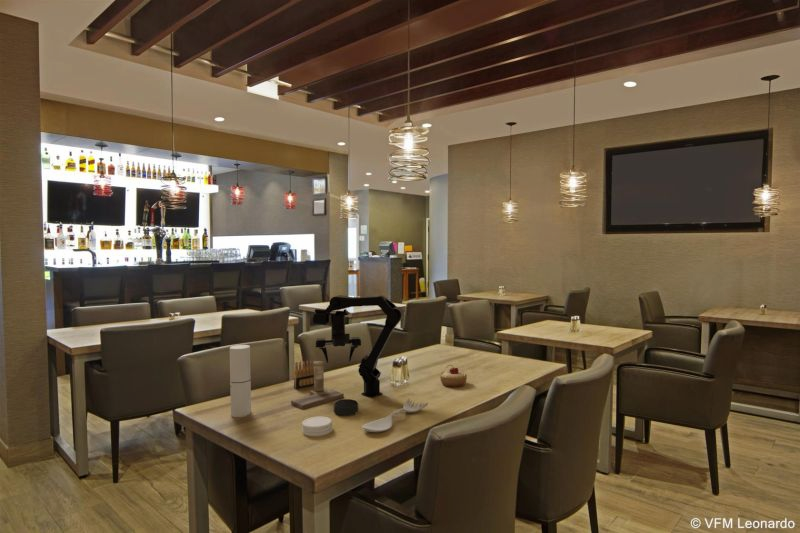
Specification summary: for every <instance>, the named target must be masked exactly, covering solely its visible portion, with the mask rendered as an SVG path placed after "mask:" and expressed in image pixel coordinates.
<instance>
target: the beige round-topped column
mask: <svg viewBox="0 0 800 533" xmlns="http://www.w3.org/2000/svg"><path fill="white" fill-rule="evenodd" d="M313 365H314V386H313V390H310V391H309V396H311V395H315V394H318V393H322V392H326V391H329V390H328V389H325V387H324V385H325V383H324V382H325V378H324V376H325V375H324V374H325V371H324V370H325V368H324V365H325V361H323V360H315V362H313V361H312V366H313Z"/></svg>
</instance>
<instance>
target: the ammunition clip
mask: <svg viewBox="0 0 800 533" xmlns="http://www.w3.org/2000/svg"><path fill="white" fill-rule="evenodd" d="M315 361H316V358H313V361H312V359H309V360H308V359H307V360H306V363H305V360H303V361H302V362H301V360H300V361H299V363H298V362H297V361H295V364H294V365H295V367H294V379H293V389H294V390H299V389H304V388H309V387H314V386H313V385H314V365H313V362H315Z"/></svg>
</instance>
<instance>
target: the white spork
mask: <svg viewBox="0 0 800 533" xmlns="http://www.w3.org/2000/svg"><path fill="white" fill-rule="evenodd" d="M428 404H429V402H426V403H425V402H424V403H423V402H422V403H419V402H415V401H413V400H411V399H410V398H408V399H407V400H406V402H405V403H404V405H403V406H402V408H398V409H396V410H392V411H391V413H389V415H386V416H384V417H382V418H378V419H375V420H372V421H369V422H367V423H365V424H363V425H362V426H361V428H362V429H363V431H364V430H365V431H367V432H371V433H381V432H385V431H388V430H389V429H391V428H392V426H393V417H394V416H397V415H400V414H401V413H402V412H405V413H408V414H409V413H410V414H411V413H416V412H419V411H420V410H421V409H424V408H426V407H427V406H428Z"/></svg>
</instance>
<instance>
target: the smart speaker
mask: <svg viewBox="0 0 800 533" xmlns="http://www.w3.org/2000/svg"><path fill="white" fill-rule="evenodd" d="M358 411H359V403H358V401H357V400H354V399H351V398H350V399H349V398H345V399H344V398H342V399H338V400H336V401H335V403H334V404H333V412H334V414H335V415H337V416H341V417H348V416H349V417H350V416H354V415H355V414H357V413H358Z"/></svg>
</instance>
